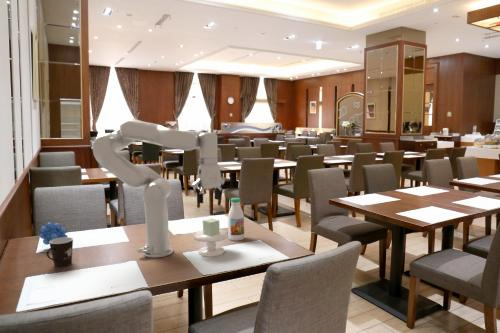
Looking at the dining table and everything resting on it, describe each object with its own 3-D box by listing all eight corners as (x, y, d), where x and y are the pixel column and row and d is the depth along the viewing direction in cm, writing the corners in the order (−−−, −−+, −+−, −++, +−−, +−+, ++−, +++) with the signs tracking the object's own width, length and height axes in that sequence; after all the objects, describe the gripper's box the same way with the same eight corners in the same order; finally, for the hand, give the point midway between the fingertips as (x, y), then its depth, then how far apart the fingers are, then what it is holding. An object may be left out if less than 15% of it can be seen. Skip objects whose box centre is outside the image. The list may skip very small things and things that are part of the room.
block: (210, 236, 164) (210, 222, 163) (203, 234, 168) (202, 220, 167) (219, 233, 168) (219, 220, 167) (212, 231, 171) (211, 218, 170)
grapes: (40, 252, 173) (38, 226, 171) (40, 248, 178) (38, 222, 177) (69, 247, 178) (67, 222, 177) (67, 243, 184) (66, 219, 183)
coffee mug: (68, 258, 163) (66, 236, 162) (78, 263, 158) (76, 239, 157) (39, 267, 154) (37, 243, 153) (49, 272, 149) (47, 247, 148)
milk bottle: (225, 239, 186) (224, 199, 184) (233, 235, 193) (232, 196, 190) (239, 241, 182) (238, 200, 180) (247, 237, 189) (246, 197, 187)
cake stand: (209, 261, 158) (208, 241, 157) (187, 253, 168) (186, 234, 167) (235, 252, 169) (235, 233, 168) (213, 244, 179) (212, 227, 178)
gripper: (198, 163, 155) (198, 205, 157) (229, 160, 167) (229, 199, 169) (186, 162, 160) (187, 202, 162) (218, 159, 173) (218, 197, 175)
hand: (209, 201), depth 166 cm, fingers open, 9 cm apart
